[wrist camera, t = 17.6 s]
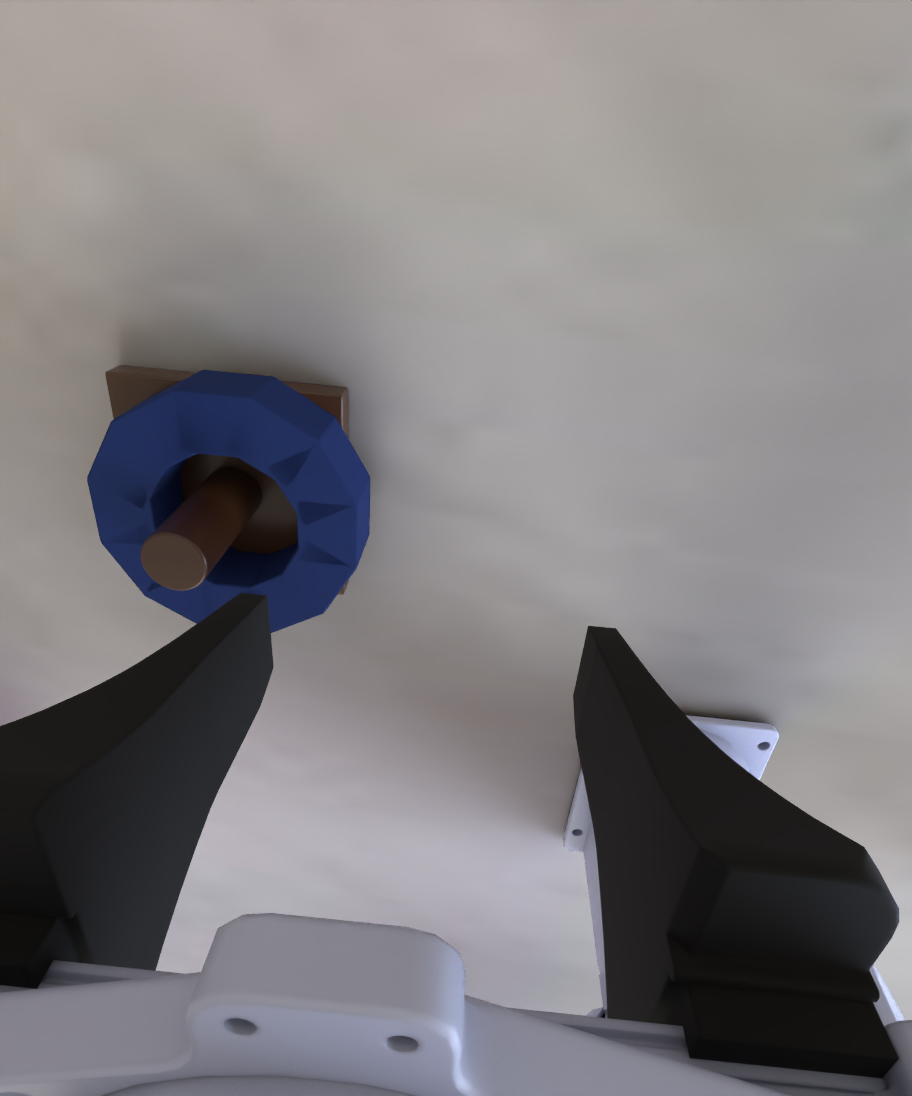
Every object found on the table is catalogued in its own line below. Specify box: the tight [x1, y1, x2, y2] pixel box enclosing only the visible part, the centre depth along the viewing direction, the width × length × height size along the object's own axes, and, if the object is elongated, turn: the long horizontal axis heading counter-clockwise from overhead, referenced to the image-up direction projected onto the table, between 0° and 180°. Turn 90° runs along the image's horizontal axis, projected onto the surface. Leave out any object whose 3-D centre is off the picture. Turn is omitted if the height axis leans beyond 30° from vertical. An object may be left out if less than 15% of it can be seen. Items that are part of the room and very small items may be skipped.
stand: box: [106, 365, 349, 595], centre depth 22 cm, size 8×8×6 cm
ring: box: [87, 370, 370, 633], centre depth 22 cm, size 9×9×2 cm
